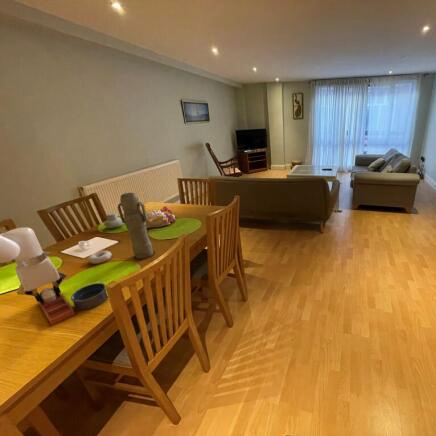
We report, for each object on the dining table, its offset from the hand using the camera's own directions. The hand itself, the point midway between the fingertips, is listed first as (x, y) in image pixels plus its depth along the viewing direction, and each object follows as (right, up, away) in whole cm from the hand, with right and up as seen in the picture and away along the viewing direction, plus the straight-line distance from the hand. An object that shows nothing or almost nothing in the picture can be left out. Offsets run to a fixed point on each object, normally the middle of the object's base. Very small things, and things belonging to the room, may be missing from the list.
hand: (49, 297), depth 97 cm
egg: (0, -2, +1) cm, 2 cm away
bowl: (+16, -2, +2) cm, 16 cm away
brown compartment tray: (+5, -4, -2) cm, 7 cm away
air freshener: (-25, +26, +70) cm, 79 cm away
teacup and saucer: (-21, +15, +44) cm, 51 cm away
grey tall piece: (+17, +12, +35) cm, 41 cm away
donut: (-4, +10, +31) cm, 33 cm away
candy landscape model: (+1, +30, +78) cm, 83 cm away
